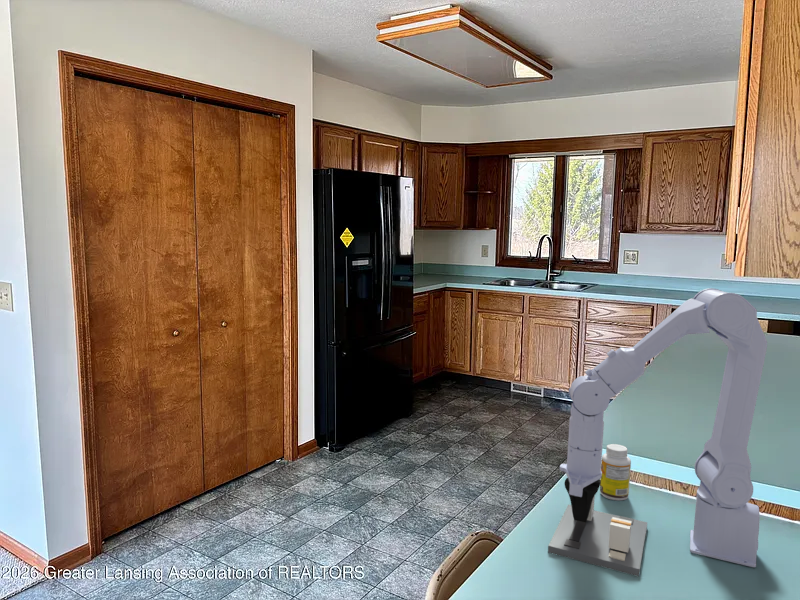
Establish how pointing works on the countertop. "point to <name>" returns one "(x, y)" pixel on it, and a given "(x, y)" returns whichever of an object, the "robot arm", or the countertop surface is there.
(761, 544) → the countertop surface
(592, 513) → the toggle
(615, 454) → the supplement bottle
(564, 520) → the switch unit
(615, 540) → the toggle
